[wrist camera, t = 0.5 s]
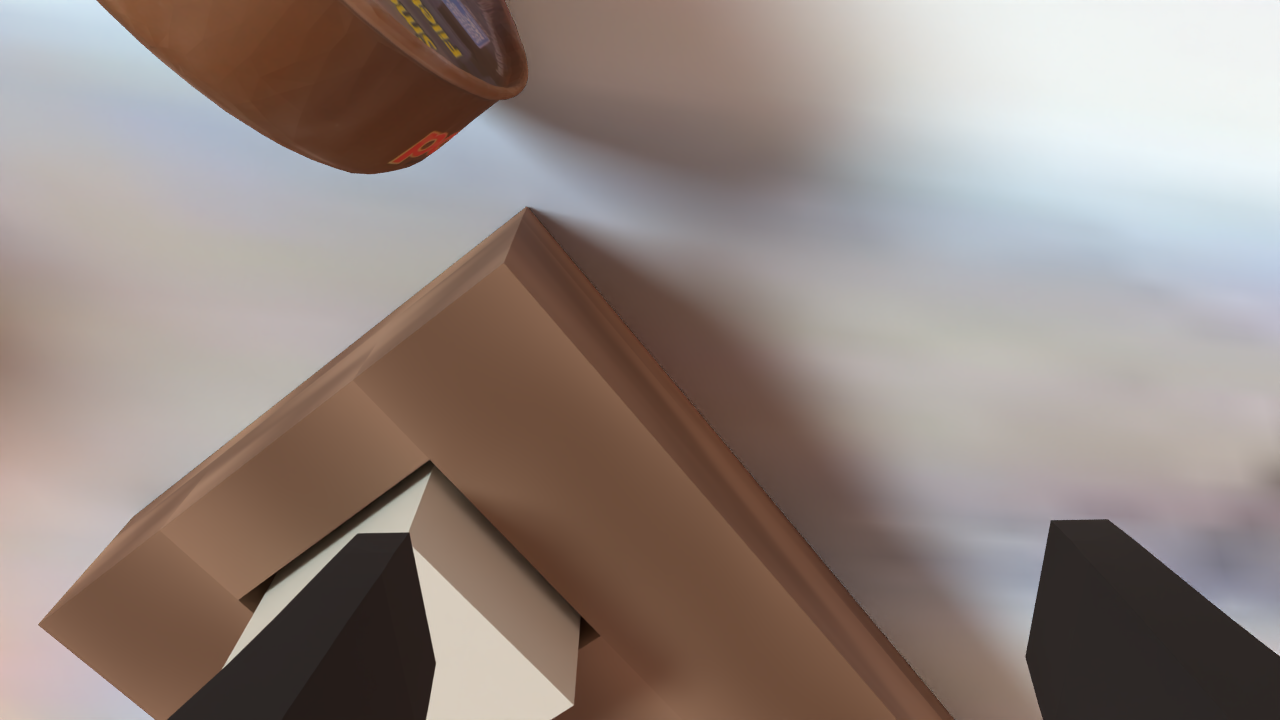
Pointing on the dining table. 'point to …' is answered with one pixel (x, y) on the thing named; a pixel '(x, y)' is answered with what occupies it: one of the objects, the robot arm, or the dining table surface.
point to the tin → (340, 69)
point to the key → (461, 604)
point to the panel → (507, 512)
